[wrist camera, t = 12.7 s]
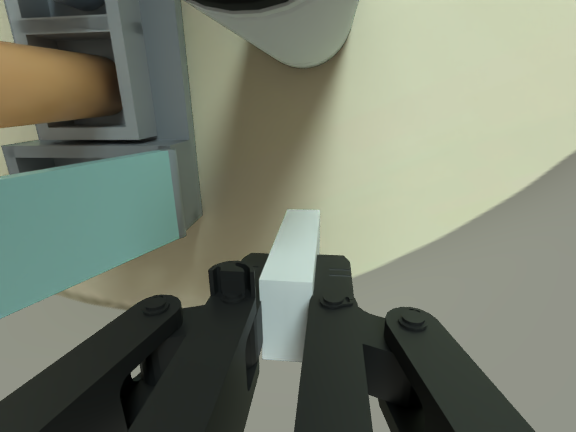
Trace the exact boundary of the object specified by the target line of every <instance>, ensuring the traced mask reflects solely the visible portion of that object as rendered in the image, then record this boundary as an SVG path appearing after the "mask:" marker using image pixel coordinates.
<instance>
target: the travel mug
mask: <svg viewBox="0 0 576 432" xmlns="http://www.w3.org/2000/svg"><path fill="white" fill-rule="evenodd" d="M183 1H185V2H187V3H189V4H190V5H192V6H193V7H194V8H196V9H198V10H199V11H201V12H202V13H204V14H206V15H207V16H209V17H210V18H212V19H213V20H215V21H217V22H218V23H220V24H221V25H223V26H224V27H226V28H228V29H229V30H231V31H232V32H234V33H235V34H237V35H239V36H240V37H242V38H243V39H245V40H246V41H248V42H250V43H251V44H253V45H254V46H256V47H258V48H259V49H261V50H262V51H264V52H265V53H267V54H269V55H270V56H272V57H273V58H275V59H276V60H278V61H280V62H281V63H283V64H286V65H288V66H290V67H295V68H310V67H315V66H318V65H320V64H322V63H324V62H326V61H328V60H329V59H330V58H332V57H333V56H334V55H335V54H336V53H337V52H338V51H339V50H340V49H341V47H342V46H343V44H344V43H345V41H346V39H347V37H348V34H349V32H350V30H351V26H352V23H353V19H354V16H355V12H356V9H357V5H358V2H359V0H183Z"/></svg>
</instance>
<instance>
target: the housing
mask: <svg viewBox="0 0 576 432" xmlns="http://www.w3.org/2000/svg"><path fill="white" fill-rule="evenodd" d="M4 3H5V7H6V11H7V15H8V19H9V23H10V27H11V31H12V35H13V39H14V43H17V44H24V45H30V46H37V47H44V48H51V49H58V50H64V51H71V52H78V53H85V54H91V55H98V56H103V57H106V58H108V59H110V60H111V61H113V62H114V63H115V65H116V71H117V77H118V83H119V89H120V95H121V101H122V107H123V109H122V110H121V111H120V112H118V113H117V114H114V115H111V116H103V117H94V118H85V119H77V120H68V121H59V122H50V123H41V124H35V126H36V130H37V134H38V138H39V140H34V141H28V142H21V143H15V144H9V145H2V146H1V147H2V150H3V154H4V157H5V161H6V164H7V167H8V171H9V174H10V175H11V174H17V173H23V172H29V171H35V170H41V169H47V168H53V167H59V166H65V165H71V164H77V163H83V162H89V161H95V160H101V159H107V158H113V157H119V156H125V155H131V154H137V153H143V152H149V151H155V150H160V149H167V148H174V149H176V154H177V162H178V171H179V179H180V187H181V195H182V203H183V211H184V219H185V227H186V230H187V229H188V228H189V227H190V226H191V225H192V224H193V223H194V222H196V221H197V220H198V219H199V218H200V217H201V216H202V215H203V213H202V204H201V194H200V184H199V175H198V165H197V155H196V146H195V136H194V126H193V117H192V107H191V98H190V88H189V78H188V69H187V59H186V49H185V40H184V30H183V20H182V11H181V1H180V0H105V3H104V4H103V5H102V6H100V7H99V8H97V9H95V10H90V11H84V10H80V9H77V8H74V7H71V6H68V5H65V4H62V3H59V2H56V1H53V0H4Z"/></svg>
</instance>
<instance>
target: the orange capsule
mask: <svg viewBox="0 0 576 432" xmlns="http://www.w3.org/2000/svg"><path fill="white" fill-rule="evenodd" d="M122 109H123V107H122V101H121V95H120V89H119V83H118V77H117V71H116V65H115V63H114V62H113V61H111V60H110V59H108V58H106V57H103V56H98V55H91V54H85V53H78V52H71V51H64V50H58V49H51V48H44V47H37V46H30V45H24V44H17V43H10V42H3V41H0V128H6V127H15V126H24V125H32V124H41V123H50V122H59V121H68V120H77V119H85V118H94V117H103V116H111V115H114V114H117V113H118V112H120V111H121V110H122Z"/></svg>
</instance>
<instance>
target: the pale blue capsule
mask: <svg viewBox="0 0 576 432" xmlns="http://www.w3.org/2000/svg"><path fill="white" fill-rule="evenodd" d="M53 1H56V2H59V3H62V4H65V5H68V6H71V7H74V8H77V9H80V10H84V11H90V10H95V9H97V8H99V7H100V6H102V5H103V4H104V3H105V0H53Z"/></svg>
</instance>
